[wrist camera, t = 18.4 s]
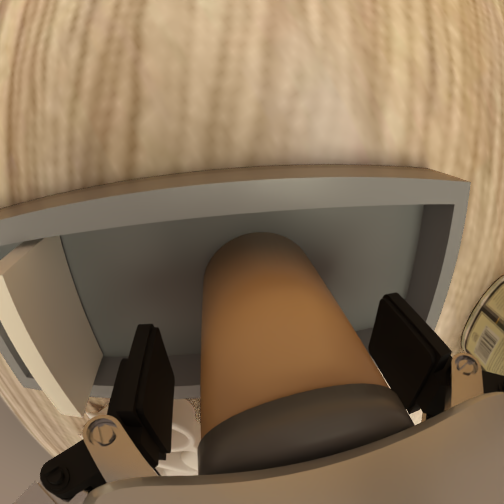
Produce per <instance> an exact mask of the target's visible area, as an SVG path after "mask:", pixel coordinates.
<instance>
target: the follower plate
mask: <svg viewBox="0 0 504 504" xmlns="http://www.w3.org/2000/svg"><path fill="white" fill-rule="evenodd" d="M0 321H1V323H2V325H3V327H4V329H5V331H6V333H7V334H8V336H9V338H10V340H11V342H12V343H13V345H14V347H15V349H16V350H17V352H18V354H19V355H20V357H21V359H22V360H23V362H24V364H25V365H26V367H27V368H28V370H29V371H30V373H31V374H32V376H33V377H34V379H35V380H36V382H37V383H38V385H39V386H40V387H41V389H42V390H43V392H44V393H45V394H46V396H47V397H48V398H49V400H50V401H51V402H52V404H53V405H54V406H55V407H56V409H57V410H58V411H59V412H60V414H62V415H68V416H74V417H81V418H83V416H84V412H85V409H86V406H87V402H88V399H89V396H90V393H91V389H92V386H93V383H94V380H95V377H96V374H97V371H98V368H99V365H100V363H101V360H102V357H103V353H102V351H101V349H100V347H99V345H98V343H97V341H96V338H95V336H94V334H93V331H92V329H91V327H90V324H89V322H88V320H87V317H86V315H85V312H84V310H83V307H82V305H81V302H80V299H79V296H78V294H77V291H76V288H75V285H74V282H73V279H72V276H71V273H70V270H69V267H68V264H67V261H66V257H65V254H64V250H63V247H62V243H61V240H60V236H53V237H47V238H41V239H35V240H29V241H24V242H22V243H21V244H20V245H18V246H17V247H16V248H15V249H13V250H12V251H11V252H10V253H9V254H7V255H6V256H5V257H4V258H3V259H1V260H0Z"/></svg>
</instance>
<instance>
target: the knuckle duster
mask: <svg viewBox="0 0 504 504" xmlns="http://www.w3.org/2000/svg"><path fill="white" fill-rule="evenodd" d="M108 406H109V405H108ZM108 406H106V407H105V408H104V409H102V410H101V411H99V412H86V411H85V413H86V414H87V416H88V417H89V418H90V419H91V418H93V417H95V416H98V415H107V411H108ZM78 435H79V436H80V437H81V438H82V439H83V436H82V434H78ZM200 441H201V424H200V423H199V422H198V421H197V420H196V419H195V410H194V407H193V406H192V404H191V403H190V402H189V401H188V400H186V399H174V401H173V417H172V438H171V452H170V453H166V460H159V462H158V466H157V467H155V468H156V469H157V470H158V472H159V473H160V474H161V475H162V476H191V475H198V455H197V450H198V445H199V442H200Z"/></svg>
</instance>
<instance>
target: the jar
mask: <svg viewBox="0 0 504 504" xmlns="http://www.w3.org/2000/svg"><path fill="white" fill-rule="evenodd" d="M200 418H201V441H200V442H199V445H198V450H197V455H198V475H213V474H226V473H238V472H247V471H255V470H263V469H269V468H276V467H281V466H287V465H292V464H297V463H302V462H306V461H311V460H315V459H319V458H323V457H327V456H331V455H334V454H338V453H341V452H345V451H348V450H351V449H355V448H358V447H361V446H364V445H367V444H370V443H372V442H375V441H378V440H381V439H383V438H386V437H389V436H391V435H394V434H396V433H399V432H401V431H403V430H406V429H408V428H410V427H413V426H415V425H414V423H413V422H412V420H411V418H410V416H409V414H408V413H407V411H406V409H405V407H404V406H403V404H402V402H401V400H400V399H399V397H398V395H397V394H396V393H395V392H394V391H393V390H392V389H390V388H389V387H388V385H387V384H386V382H385V380H384V378H383V377H382V375H381V373H380V372H379V370H378V368H377V366H376V365H375V363H374V361H373V360H372V358H371V356H370V355H369V353H368V351H367V350H366V348H365V346H364V345H363V343H362V342H361V340H360V338H359V337H358V335H357V333H356V332H355V330H354V329H353V327H352V325H351V324H350V322H349V321H348V319H347V317H346V316H345V314H344V313H343V311H342V309H341V308H340V306H339V305H338V303H337V302H336V300H335V298H334V297H333V295H332V294H331V292H330V291H329V289H328V288H327V286H326V284H325V283H324V281H323V280H322V278H321V277H320V275H319V274H318V272H317V271H316V269H315V268H314V266H313V265H312V263H311V262H310V260H309V259H308V257H307V256H306V254H305V253H304V251H303V250H302V249H301V248H300V247H299V246H298V245H297V244H296V243H294V242H293V241H292V240H290V239H288V238H286V237H284V236H281V235H278V234H274V233H266V232H257V233H250V234H246V235H242V236H239V237H237V238H235V239H233V240H231V241H229V242H227V243H226V244H225V245H223V246H222V247H221V248H220V249H219V250H218V251H217V252H216V253H215V254H214V255H213V257H212V258H211V260H210V261H209V263H208V265H207V268H206V270H205V274H204V281H203V301H202V327H201V373H200Z"/></svg>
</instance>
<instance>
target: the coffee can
mask: <svg viewBox="0 0 504 504" xmlns="http://www.w3.org/2000/svg"><path fill="white" fill-rule="evenodd" d="M461 345H462V349H463V350H464V351H465V352H467V353H468V354H471V355H473V356H474V357H475V358H477V359H478V361H479V362H480V365H481V369H482V370H483V371H487V372H491V373H495V374H499V375H503V376H504V276H502V277H500V278H499V279H498V280H497V281H496V282H495V283H494V284H493V285H492V286H491V287H490V288H489V289H488V290H487V292H486V293H485V294H484V295H483V297H482V298H481V300H480V301H479V303H478V304H477V306H476V307H475V309H474V310H473V312H472V314H471V316H470V318H469V320H468V322H467V324H466V327H465V329H464V332H463V336H462V341H461Z"/></svg>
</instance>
